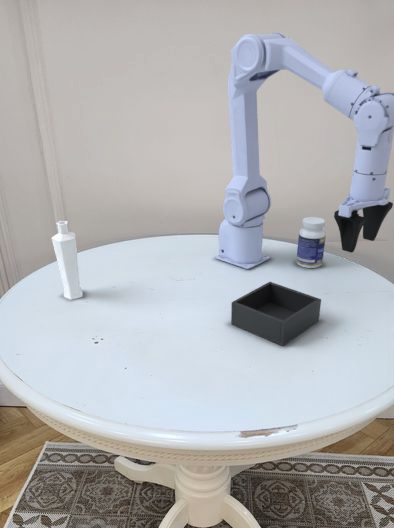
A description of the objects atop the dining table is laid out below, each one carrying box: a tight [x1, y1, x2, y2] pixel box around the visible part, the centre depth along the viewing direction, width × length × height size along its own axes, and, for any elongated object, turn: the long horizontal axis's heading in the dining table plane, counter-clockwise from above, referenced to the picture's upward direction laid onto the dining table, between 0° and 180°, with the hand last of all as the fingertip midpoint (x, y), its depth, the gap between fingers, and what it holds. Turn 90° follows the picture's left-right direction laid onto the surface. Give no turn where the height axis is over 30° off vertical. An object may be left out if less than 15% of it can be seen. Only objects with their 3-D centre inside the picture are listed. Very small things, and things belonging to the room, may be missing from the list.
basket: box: [230, 281, 322, 347], centre depth 94 cm, size 11×11×4 cm
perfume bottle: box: [51, 220, 84, 301], centre depth 103 cm, size 5×4×15 cm
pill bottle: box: [295, 216, 327, 269], centre depth 115 cm, size 6×6×10 cm
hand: (358, 245), depth 100 cm, fingers open, 7 cm apart
